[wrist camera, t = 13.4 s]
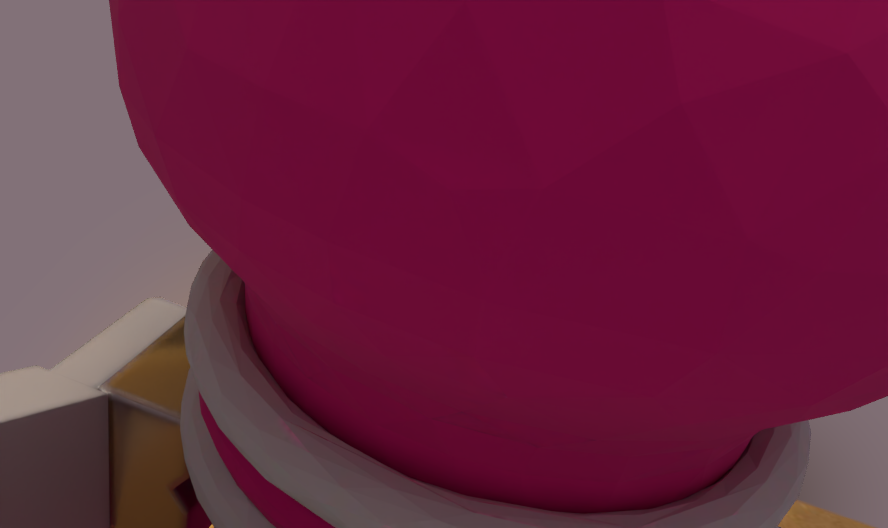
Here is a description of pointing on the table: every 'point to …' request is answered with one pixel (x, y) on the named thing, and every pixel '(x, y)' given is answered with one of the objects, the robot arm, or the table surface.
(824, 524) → the table surface
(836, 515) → the table surface
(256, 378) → the pepper mill
